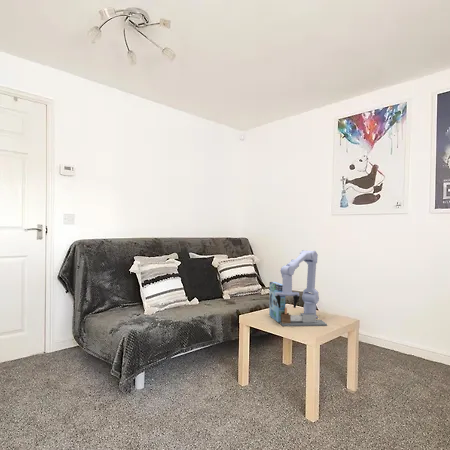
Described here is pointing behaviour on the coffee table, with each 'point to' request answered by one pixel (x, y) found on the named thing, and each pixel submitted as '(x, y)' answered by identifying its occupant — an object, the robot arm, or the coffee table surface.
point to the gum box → (273, 304)
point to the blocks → (293, 316)
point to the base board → (299, 323)
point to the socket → (285, 318)
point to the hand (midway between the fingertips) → (287, 307)
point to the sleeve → (308, 317)
